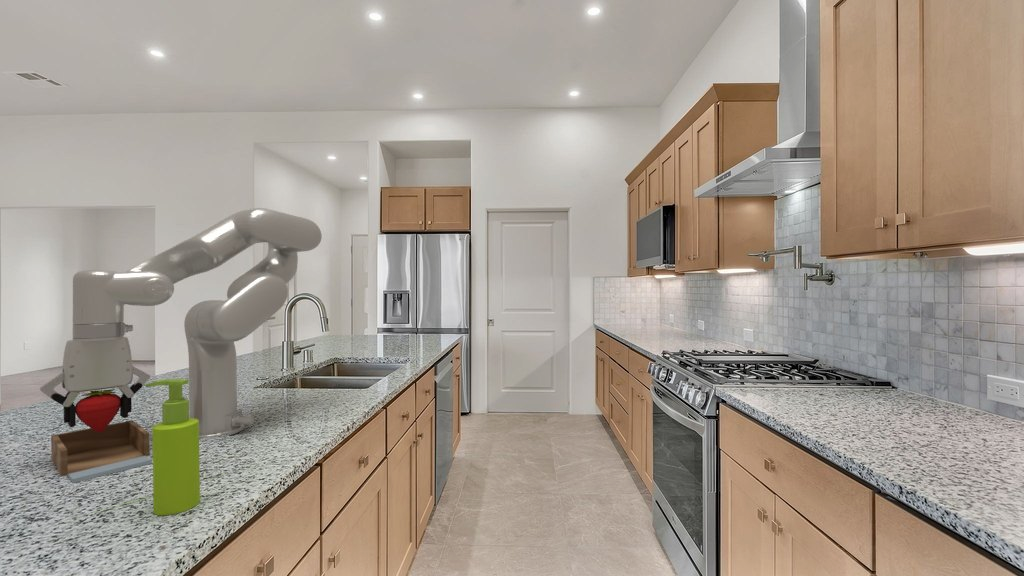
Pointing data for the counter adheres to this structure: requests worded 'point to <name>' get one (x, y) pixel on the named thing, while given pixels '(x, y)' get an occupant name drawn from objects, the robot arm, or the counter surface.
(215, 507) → the counter surface
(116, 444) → the crate
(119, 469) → the panel
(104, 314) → the robot arm
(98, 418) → the strawberry
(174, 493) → the soap dispenser
